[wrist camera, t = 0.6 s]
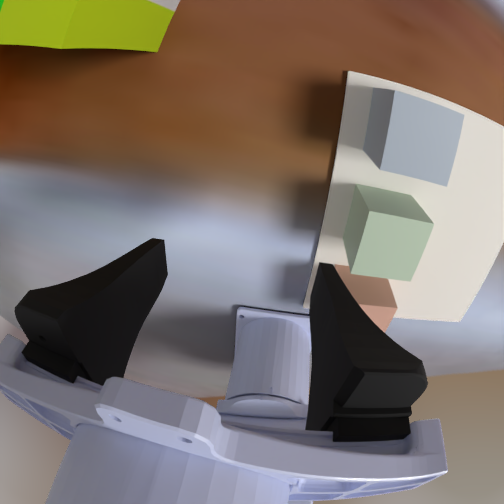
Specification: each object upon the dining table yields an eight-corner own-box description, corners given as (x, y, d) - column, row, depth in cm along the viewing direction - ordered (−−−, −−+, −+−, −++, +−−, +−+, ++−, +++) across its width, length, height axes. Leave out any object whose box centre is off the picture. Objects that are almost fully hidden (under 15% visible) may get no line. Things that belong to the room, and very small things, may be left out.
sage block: (394, 246, 21) (410, 281, 18) (342, 238, 22) (350, 273, 18) (411, 195, 19) (434, 224, 15) (355, 183, 19) (369, 210, 16)
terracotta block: (369, 309, 25) (376, 346, 22) (323, 304, 26) (325, 342, 22) (385, 271, 23) (397, 308, 19) (335, 264, 23) (340, 302, 20)
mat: (458, 320, 25) (459, 322, 25) (302, 305, 27) (303, 307, 26) (533, 144, 14) (535, 145, 14) (347, 70, 15) (348, 70, 15)
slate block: (419, 164, 18) (446, 186, 14) (362, 150, 18) (379, 169, 14) (432, 105, 15) (464, 114, 11) (373, 87, 15) (395, 90, 12)
